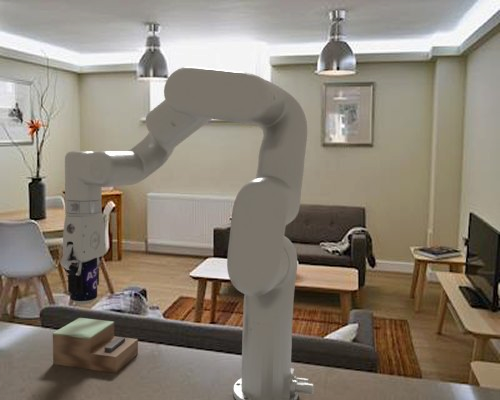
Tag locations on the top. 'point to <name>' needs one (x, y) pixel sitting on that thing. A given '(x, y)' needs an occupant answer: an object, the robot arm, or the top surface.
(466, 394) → the top surface
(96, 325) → the stand
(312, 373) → the top surface
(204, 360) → the top surface
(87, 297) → the beverage can
